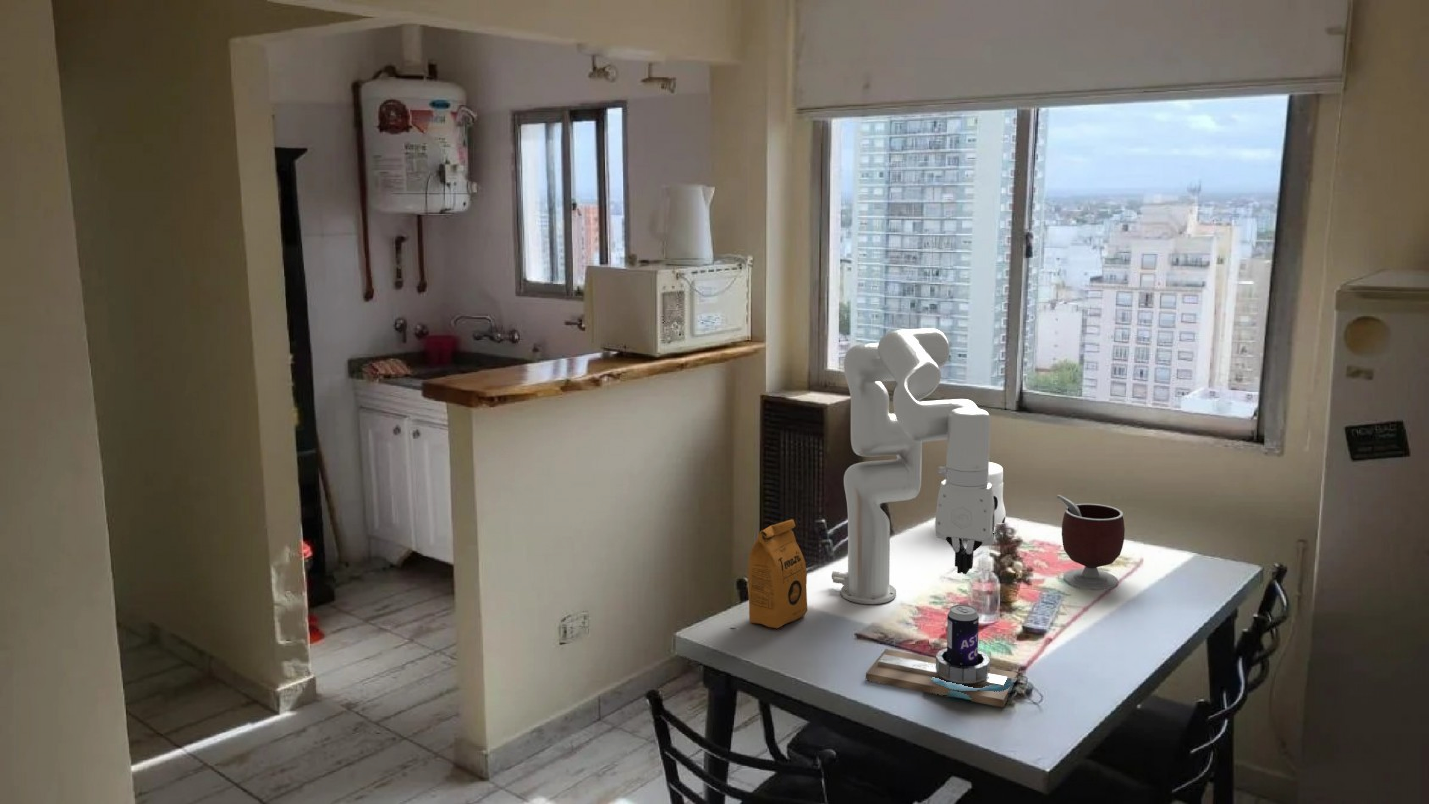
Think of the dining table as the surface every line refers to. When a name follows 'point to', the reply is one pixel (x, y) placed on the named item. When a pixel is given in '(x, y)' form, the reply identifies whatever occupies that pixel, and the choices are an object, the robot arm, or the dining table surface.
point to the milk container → (997, 491)
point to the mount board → (927, 685)
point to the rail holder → (948, 669)
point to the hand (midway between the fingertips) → (963, 571)
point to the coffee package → (777, 577)
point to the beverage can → (962, 635)
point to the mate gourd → (1092, 543)
